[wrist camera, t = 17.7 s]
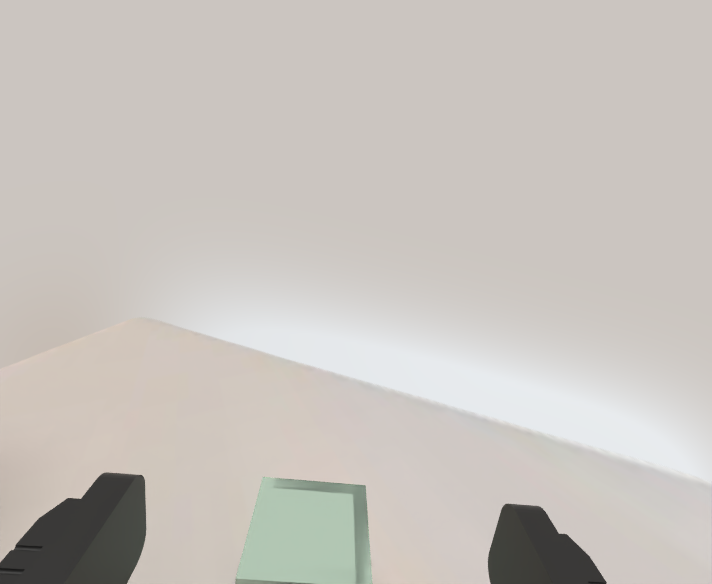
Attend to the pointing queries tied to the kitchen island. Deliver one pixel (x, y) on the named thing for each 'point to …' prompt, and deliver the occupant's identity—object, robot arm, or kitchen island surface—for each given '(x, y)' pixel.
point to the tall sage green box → (307, 534)
